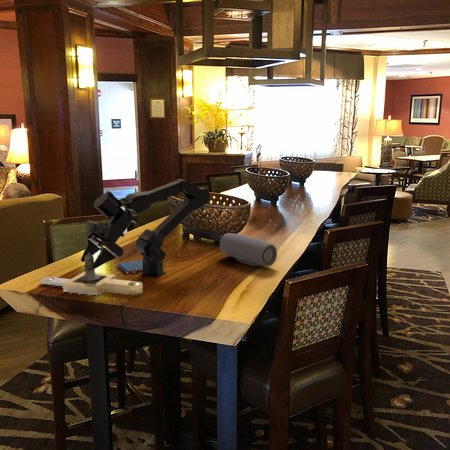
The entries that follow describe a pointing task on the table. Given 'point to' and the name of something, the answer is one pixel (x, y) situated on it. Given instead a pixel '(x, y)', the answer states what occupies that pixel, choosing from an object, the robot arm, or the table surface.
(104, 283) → the square wooden loop
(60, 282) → the cream handled frame
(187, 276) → the table surface
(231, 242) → the bluetooth speaker
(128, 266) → the woven mat
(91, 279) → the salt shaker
